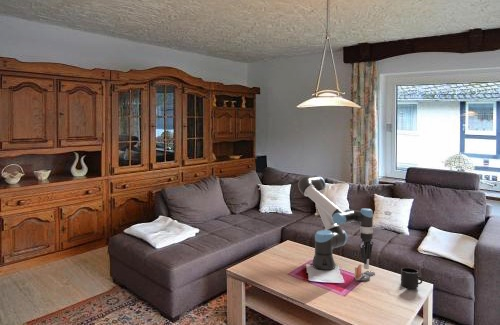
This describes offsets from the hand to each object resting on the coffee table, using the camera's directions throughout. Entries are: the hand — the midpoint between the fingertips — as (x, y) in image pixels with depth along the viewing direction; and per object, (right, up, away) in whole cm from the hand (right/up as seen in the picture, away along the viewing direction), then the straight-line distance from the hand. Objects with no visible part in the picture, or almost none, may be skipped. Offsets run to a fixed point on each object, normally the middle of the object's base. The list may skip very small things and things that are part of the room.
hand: (366, 268), depth 227 cm
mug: (+20, -4, -21) cm, 29 cm away
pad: (0, -3, 0) cm, 3 cm away
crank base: (-7, -4, -10) cm, 13 cm away
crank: (-8, -2, -12) cm, 14 cm away
